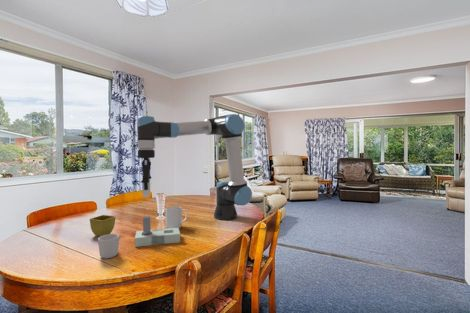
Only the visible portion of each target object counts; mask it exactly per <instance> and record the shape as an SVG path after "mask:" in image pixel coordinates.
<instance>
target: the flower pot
mask: <svg viewBox="0 0 470 313" xmlns="http://www.w3.org/2000/svg"><path fill="white" fill-rule="evenodd" d="M115 224H116V216H114V215H107V214H101V215H98V216H94V217H91V218H89V225H90V230H91V232H92V233H93V235H95V236H97V237H100V236H103V235H107V234H112V232H113V230H114V228H115Z"/></svg>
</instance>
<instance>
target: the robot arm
mask: <svg viewBox="0 0 470 313" xmlns="http://www.w3.org/2000/svg"><path fill="white" fill-rule="evenodd" d="M136 124H137V129H136V130H137V142H136V143H135V144H136V145H137V149H138V150H137V158H139V159H143V160H142V162H141V166H142V167H141V170H142V179H141V181H140V183H142V198H150V193H151V179H152V176H151V172H150V171H151V165H152V161H151V160H150V159H153V158H155V153H156V151H155V150H154V149H156V148H155V146H156V144H155V143H156V141H155V140H156V139H157V140H158V139H163V138H171V139H172V138H173V139H174V138H178V137H183V136H192V135H193V136H194V135H203V134H204V135H207V136H211V135H213V136H214V135H215V136H221V139H222V140H223V141H224V143H225V152H226V159H227V168H228V176H229V181H219V182H217V183H216V188H215V189H216V191H215V192H216V205H215V208H214V212H213V219H216V220H220V221H229V220H234V219H237V218H238V211H237V209H236V206H246V205H248V204H249V202H250V201H251V199H252V198H253V190H252V188H250V186H248V181H247V180H246V179H245V177H244V176H245V175H244V167H243V159H242V151H241V143H240V142H241V141H240V139H241V138H242V133H243V132H244V130H245V122H244V119H243V118H242V117H241V116H240V115H238V114H236V113H230V114H225V115H220V116H216V117H211V118H206V119H204V120H198V121H197V120H196V121H185V122H183V121H182V122H172V121H171V122H170V121H169V122H168V121H156V120H155V117H154V116H150V115H140V116H138V117H137V123H136ZM235 205H236V206H235Z"/></svg>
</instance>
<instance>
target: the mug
mask: <svg viewBox="0 0 470 313" xmlns="http://www.w3.org/2000/svg"><path fill="white" fill-rule="evenodd" d="M164 210H165V216H164V217H165V229H168V228H179V229H181V228H182V225H183V223H185V221H186V220H187V218H188V209H185V208H182V206H177V205H176V206H175V205H173V206H167V207H165V209H164ZM183 211H185V216H184V217H185V218H184V219H183V217H182V216H183V213H182V212H183Z"/></svg>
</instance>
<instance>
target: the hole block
mask: <svg viewBox="0 0 470 313" xmlns="http://www.w3.org/2000/svg"><path fill="white" fill-rule="evenodd" d="M180 242H181V232H180V228H168V229H167V228H158V229H157V228H156V229H151V235H143V230H136V231H135V236H134V247H135V248H137V247H147V246H157V245H165V244H167V245H168V244H175V243H180Z"/></svg>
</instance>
